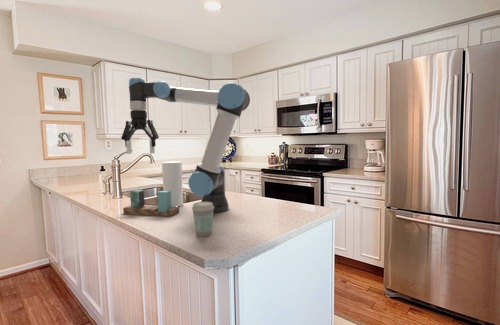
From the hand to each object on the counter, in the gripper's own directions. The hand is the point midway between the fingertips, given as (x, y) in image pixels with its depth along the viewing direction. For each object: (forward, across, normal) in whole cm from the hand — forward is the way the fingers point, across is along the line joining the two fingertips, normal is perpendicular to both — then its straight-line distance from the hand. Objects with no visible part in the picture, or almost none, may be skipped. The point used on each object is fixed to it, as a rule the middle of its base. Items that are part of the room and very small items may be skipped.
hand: (140, 153), depth 138 cm
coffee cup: (+31, -44, +22) cm, 58 cm away
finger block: (+29, -11, -2) cm, 31 cm away
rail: (+31, -3, -2) cm, 31 cm away
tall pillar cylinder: (+31, -5, -20) cm, 37 cm away
